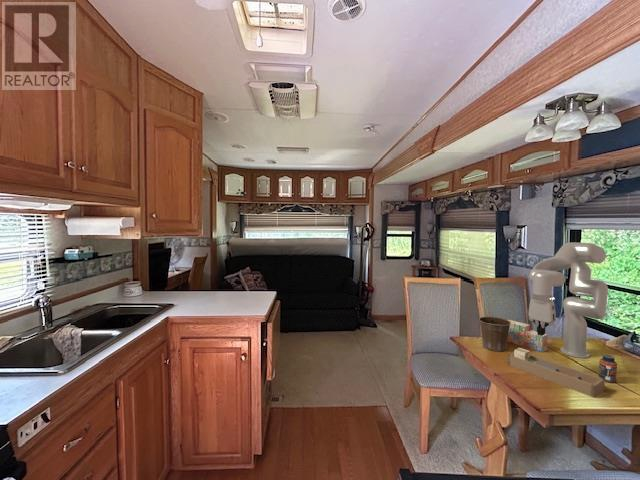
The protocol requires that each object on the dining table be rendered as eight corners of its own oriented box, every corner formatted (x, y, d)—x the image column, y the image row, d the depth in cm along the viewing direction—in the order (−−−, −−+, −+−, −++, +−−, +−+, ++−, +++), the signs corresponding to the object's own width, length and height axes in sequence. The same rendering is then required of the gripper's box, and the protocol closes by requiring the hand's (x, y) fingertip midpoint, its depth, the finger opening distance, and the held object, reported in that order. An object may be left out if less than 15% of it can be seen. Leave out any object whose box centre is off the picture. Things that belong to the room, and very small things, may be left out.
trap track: (519, 359, 161) (519, 350, 160) (604, 390, 131) (604, 379, 131) (507, 364, 155) (508, 355, 155) (594, 397, 125) (594, 386, 125)
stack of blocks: (547, 350, 173) (548, 329, 172) (542, 352, 169) (542, 331, 169) (508, 338, 191) (508, 319, 190) (502, 340, 188) (503, 320, 187)
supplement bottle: (612, 384, 136) (613, 360, 135) (595, 378, 141) (596, 354, 140) (619, 381, 138) (620, 357, 137) (602, 375, 143) (603, 352, 143)
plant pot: (472, 342, 184) (472, 316, 183) (496, 341, 186) (497, 315, 185) (490, 354, 168) (490, 325, 167) (516, 352, 170) (517, 324, 169)
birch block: (518, 357, 157) (519, 347, 157) (529, 360, 153) (529, 351, 153) (513, 359, 155) (514, 349, 154) (524, 363, 150) (524, 353, 150)
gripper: (564, 300, 141) (562, 338, 142) (528, 293, 154) (527, 328, 155) (556, 302, 137) (555, 341, 138) (521, 295, 150) (520, 331, 151)
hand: (540, 334), depth 147 cm, fingers closed
